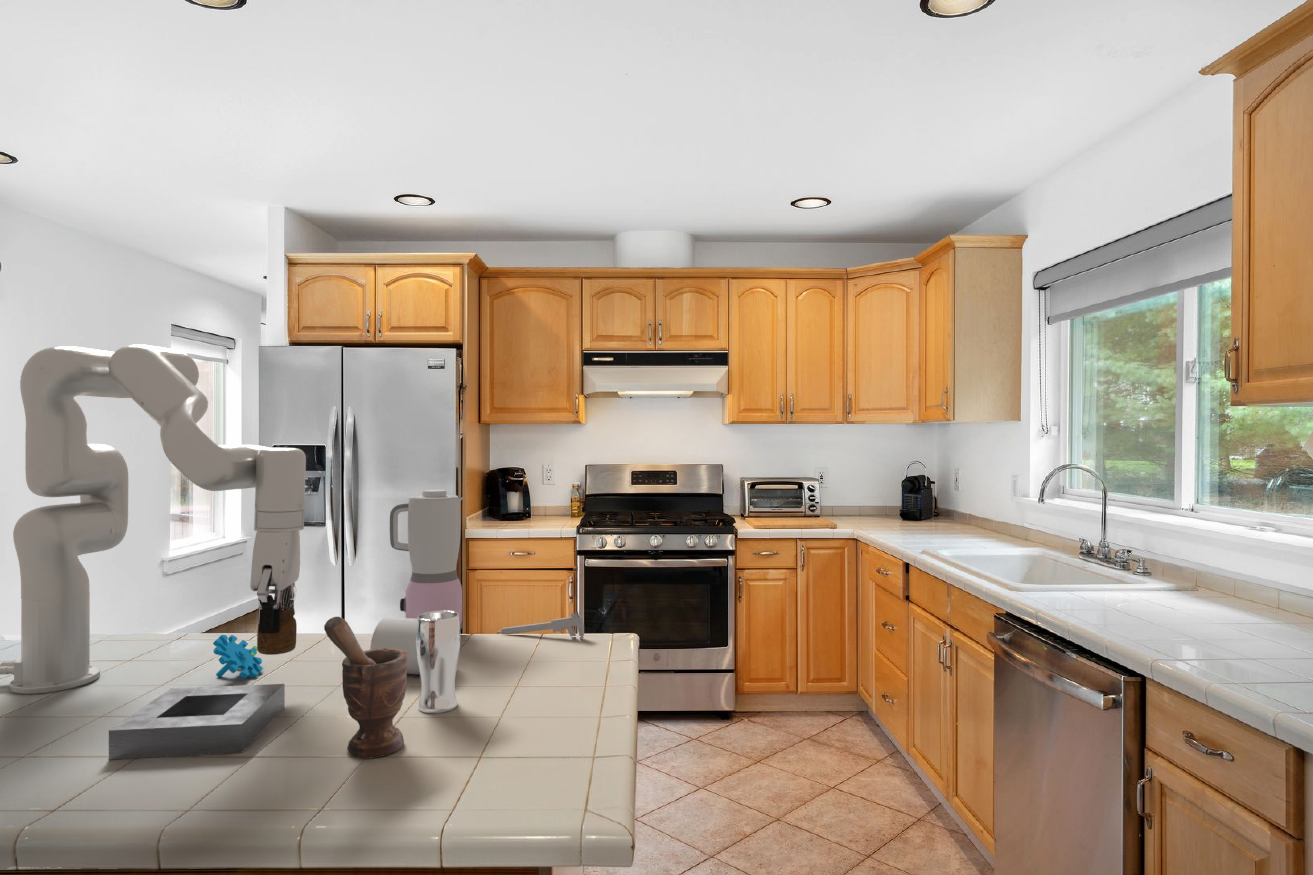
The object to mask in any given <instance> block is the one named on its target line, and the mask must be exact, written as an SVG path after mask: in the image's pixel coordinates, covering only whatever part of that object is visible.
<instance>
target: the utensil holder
mask: <svg viewBox="0 0 1313 875" xmlns="http://www.w3.org/2000/svg"><path fill="white" fill-rule="evenodd" d="M294 586H295V587H294V588H293V590H294V592H298V591H297V587H296V584H295V585H294ZM291 588H292V584H291ZM288 589H289V588H288ZM283 590H284V589H283ZM285 591H286V590H285ZM287 593H288V592H287ZM290 593H291V592H290ZM281 594H283V593H281ZM284 595H285V594H284ZM292 596H293V595H292ZM296 596H297V595H294V599H293V600H294V602H292V603H294V604H295V600H296V599H295V598H296ZM286 598H287V596H286ZM289 598H290V597H289ZM291 600H292V599H291ZM280 601H281V604H282V598H280ZM288 602H289V601H288ZM285 604H286V602H285ZM291 605H293V604H291ZM279 608H281V627H280V632H278V633H259V623H258V625H257V631H256V632H257V633H256V634H257V635H256V640H257V641H256V647H257V653H259V654H261V655H271V656H273V655H276V656H277V655H282V654H287V653H290V652H292V651H294V650H295V648H296V646H297V645H296V644H297V620H296V618H295V617H293V616H295V614H296V613H295V612H296V611H295V610H296V609H295V607H294V608H293V607H291V606H290V605H289V606H288V605H287V606H284V601H283V606H279Z"/></svg>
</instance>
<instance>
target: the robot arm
mask: <svg viewBox="0 0 1313 875" xmlns="http://www.w3.org/2000/svg"><path fill="white" fill-rule="evenodd" d="M199 376H200V373H199V368H198V366H197V364H196V362H195V360H194V359H193V358H192V357H191V356H190V355H189V354H187V353H186V352H184V351H181V350H179V349H177V348H176V349H175V348H167V347H163V346H156V345H148V344H138V343H137V344H130V345H126V346H121V347H120V348H118V349H117V350H115V351H111V350H110V351H109V350H103V349H102V350H101V349H96V348H88V347H82V346H69V345H67V346H52V347H47V348H44V349H41V350H39V351H37V352H36V353H34V354H33V355H32V356H31V357H29V359H28V360H27V361H26V363H25V364H24V366H23V368H22V371H21V375H20V380H19V383H20V385H19V386H20V395H21V400H22V405H23V409H24V410H23V411H24V414H25V432H24V433H25V435H24V436H25V437H24V438H25V440H24V441H25V444H24V446H25V449H24V450H25V454H24V455H25V456H24V457H25V483H26V486H27V488H28V489H29V491H30V492H31V493H32V494H35V495H36V496H38V497H43V498H65V497H77V496H79V499H80V500H79V501H80V502H78V503H77V502H75V503H71V502H70V503H63V504H53V505H52V504H51V505H45V506H40V507H37V508H35V509H31V510H29V511H26V513H24V514H23V515H21V516H20V518H18V519H17V521H16V523H15V525H14V528H13V533H12V534H13V535H12V537H13V538H12V539H13V543H14V548H15V552H16V556H17V560H18V566H19V576H20V599H21V602H20V604H21V605H20V606H21V607H20V608H21V611H20V612H21V616H20V618H21V621H20V623H21V624H20V625H21V626H20V630H21V631H20V632H21V633H20V635H21V636H20V641H21V642H20V654H21V655H20V657H21V658H20V659H19V660H3V661H1V663H0V675H13V679H12V680H11V681H10V682H9V686H8V688H9V691H10V692H11V693H14V694H23V695H25V694H26V695H27V694H28V695H33V694H44V693H45V694H47V693H51V692H57V691H58V692H59V691H64V690H69V689H72V688H76V687H80V686H83V685H87V684H88V683H92V682H93V681H96V680H97V679H98V678H99V677H100V676H101V669H100V668H99V667H97V666H94V665H90V659H91V658H90V657H91V656H90V654H91V652H90V651H91V650H90V649H91V648H90V646H91V645H90V643H91V642H90V637H91V636H90V635H91V634H90V630H91V629H90V622H91V621H90V620H91V618H90V617H91V616H90V612H91V611H90V605H91V604H90V602H91V600H90V598H91V597H90V579H89V574H88V572H87V570H86V569H85V567H84V565H83V564H82V563H81V561H80V559H79V558H78V557H79V556H81V555H87V554H93V553H98V552H99V553H100V552H104V551H108V550H111V549H113V548H115V547H117V546H118V545H119V544H120V543H121V542H122V541H123V539H124V538H125V536H126V534H127V531H128V524H129V469H128V464H127V462H126V460H125V458H124V455H122V453H121V452H120V451H119V450H117V449H116V448H115V447H113V446H111V445H109V444H108V445H107V444H103V443H88V439H87V432H88V431H87V429H88V428H87V427H88V424H87V419H86V416H85V413H84V411H83V409H82V407H81V406H80V404H79V403H78V402H77V401H76V399H74V398H75V397H77V396H85V397H96V398H97V397H98V398H113V399H131V400H133V401H134V402H135V403H136V404H137V405H138V406H139V407H140V408H141V409H142V410H143V411H144V412H145V413H147V415H148V416H149V417H151V419H152V420H153V421H154V422H155V423H156V424H158V426H159V427H160V430H159V431H160V432H159V434H160V436H159V437H160V442H161V446H162V450H163V452H164V454H165V456H166V458H167V459H168V460H169V462H170V463H171V464H172V465H173V467H175V468H176V469H177V470H178V471H179V472H180V473H181V474H182V475H183V476H184V477H185V478H186V479H188V480H189V481H190V482H191V483H192V484H194V485H196V486H197V487H198V488H200V489H203V490H206V491H211V492H223V491H231V490H243V489H244V490H245V489H253V488H255V492H254V494H255V495H254V519H253V520H254V523H253V526H254V527H253V530H254V531H255V532H256V533H255V537H254V542H253V549H252V550H253V551H252V558H251V559H252V560H251V570H250V571H251V572H250V583H249V584H250V590H252V591H253V592H256V597H258V612H259V614H258V624H259V633H278V632H280V627H281V608H279V606H283V601H284V606H287V605H288V606H289V605H290V606H291V607H293V608H294V609H295V606H294V605H295V601H294V600H295V597H294V596H296V593H295V588H296V587H295V586H296V582H297V581H298V580H299V578H300V567H301V542H300V541H301V539H300V538H301V536H300V531H303V530H304V529H305V508H306V507H305V504H306V503H305V502H306V500H305V499H306V469H307V466H306V465H307V457H306V454H305V452H304V451H303V450H302V449H300V448H296V447H268V446H263V445H256V444H217V443H215V442H214V441H213V440H212V439H211V438H210V437H209V436H208V435H206V433H205V432H203V431H202V430H201V429H200V427H199V426H198V425H197V423H198V422H199V421H200V420H201V419H202V418H203V417H204V415H205V414H206V412H207V410H208V406H209V400H208V398H207V396H206V395H205V394H204V393H203V392H202V391H201V389H200V390H199V388H198V387H197V385H198V382H199ZM291 584H292V588H291ZM294 585H295V586H294ZM270 587H274V588H273V589H272V588H270ZM288 588H289V589H288ZM293 588H294V590H293ZM283 589H284V590H283ZM285 590H286V591H285ZM287 592H288V593H287ZM290 592H291V593H290ZM281 593H283V594H281ZM272 594H273V595H274V596H273V595H272ZM284 594H285V595H284ZM292 595H293V596H292ZM286 596H287V598H286ZM289 597H290V598H289ZM280 598H282V604H281V601H280ZM291 599H292V600H291ZM293 599H294V600H293ZM288 601H289V602H288ZM285 602H286V604H285ZM292 602H294V603H292ZM291 604H293V605H291ZM294 616H295V615H294ZM294 616H293V617H294ZM294 618H295V617H294Z"/></svg>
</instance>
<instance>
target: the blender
mask: <svg viewBox="0 0 1313 875" xmlns="http://www.w3.org/2000/svg"><path fill="white" fill-rule="evenodd" d="M463 499H464V497H460V496H458V495H454V494H447V490H446V489H425V490H424V489H423V490H422V492H421V495H413V496H409V498H408V503H401V504H396V505H395V506H393V508H392V509H391V511H390V512H389V513H390V515H389V541H390V546H391V548H393V549H395V550H397V551H403V552H409V560H410V563H411V576H410V579H409V581H408V584H407V586H405V591H404V592H405V596H404V598H401V599H400V601H399V602H400V603H399V610H400V612H404V613H405V618H412V619H417V616H418V615H420V614H422V613H426V612H431V611H454V612H457V613H459V624H460V630H462V629H463V622H464V621H463V588H462V584H461V581H460V579H459V577H458V574H457V564H458V559H459V552H460V545H461V519H462V518H461V501H462V500H463ZM404 512H408V513H407V542H400V541H399V514H400V513H404Z"/></svg>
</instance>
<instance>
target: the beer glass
mask: <svg viewBox="0 0 1313 875" xmlns="http://www.w3.org/2000/svg"><path fill="white" fill-rule="evenodd" d="M460 649H461V629H460V624H459V613H457V612H454V611H431V612H426V613H422V614H420V615H418V616H417V630H416V653H417V661H418V666H419V672H420V675H419V677H420V678H419V679H420V685H421V686H420V687H421V689H420V697H419V702H418V711H420V712H422V713H426V714H441V713H447V712H449V711H452V710H454V709H456V707H457V706H458V698H457V695H456V694H457V693H456V684H455V683H456V675H457V668H458V664H459V663H458V662H459V657H460Z"/></svg>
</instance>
